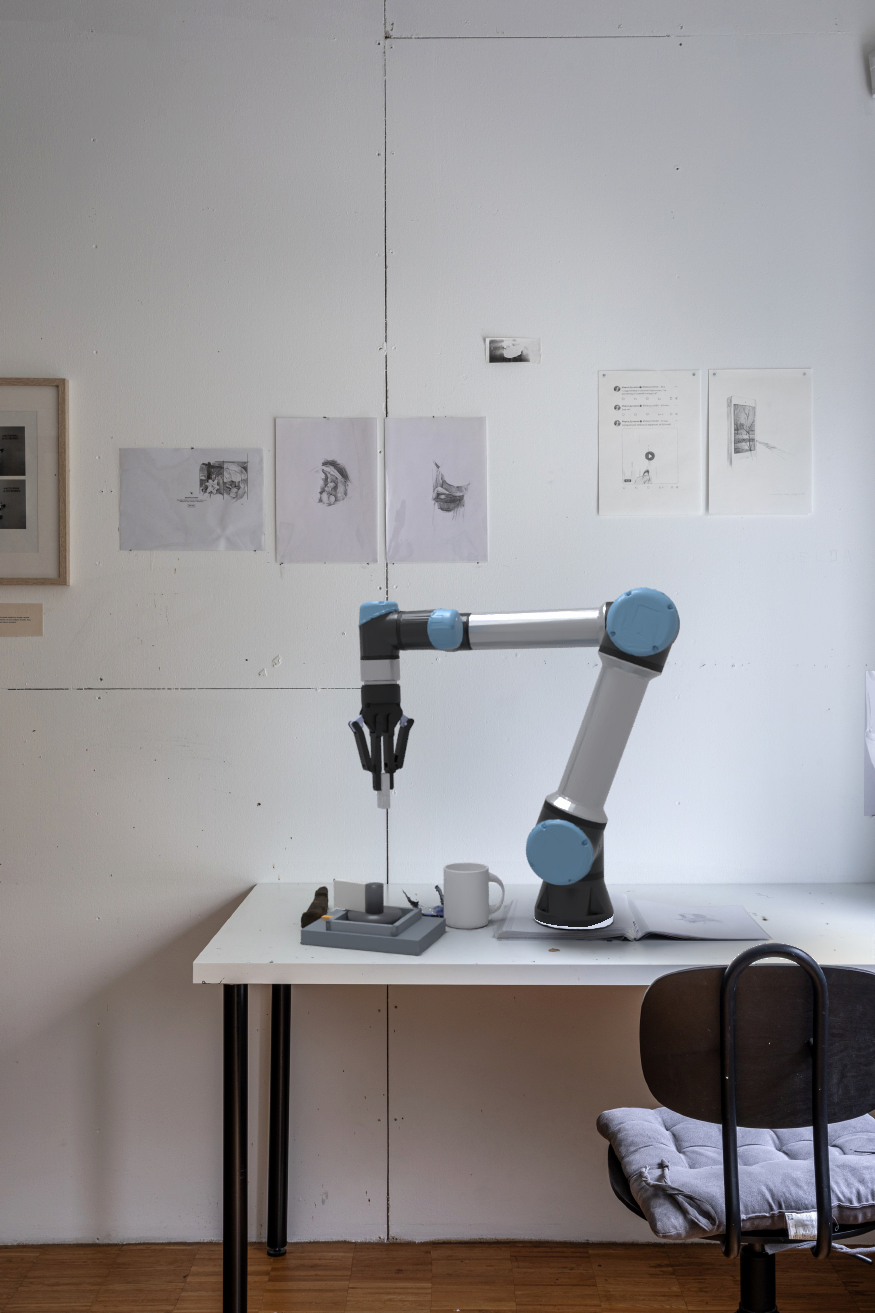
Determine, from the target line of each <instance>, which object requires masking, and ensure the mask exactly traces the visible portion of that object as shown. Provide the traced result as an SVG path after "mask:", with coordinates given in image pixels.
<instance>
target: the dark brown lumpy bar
mask: <svg viewBox="0 0 875 1313" xmlns="http://www.w3.org/2000/svg"><path fill="white" fill-rule="evenodd" d="M328 910H329V889H328V887H327V886H325V885H324V886H320V887H318V889H317V890H315V891H314V896H313V900H312V902H311V903H310V904H309V907H308V908H307V909H306V911H305V912H302V914H301V917H300V928H301V929H303V928H305V927H306V926H308V925H310V924H312V923H313V922H315V921H317V920H319V919H320V918H321V917H322V916H324V915H326V914H327V913H328V912H329V911H328ZM327 911H328V912H327ZM326 912H327V913H326Z"/></svg>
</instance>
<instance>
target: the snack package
mask: <svg viewBox="0 0 875 1313" xmlns="http://www.w3.org/2000/svg"><path fill="white" fill-rule="evenodd" d="M434 889H435V891H436V892H437V893H438V895H439V899H440V901H439V902H440V904H439V905H435V906H426V905H425V906H424V905H422V904H420V901H419V900H418V899H415V900H416V901H415V900H412V899H411V896H408V894H407V892H406V891H404V889H402V888H401V890H402V892H403V894H404V895H405V898H406V900H407V902H408V903H409V904H410V906H411V907H412V908H421V907H425V908H424V909H428V908H429V909H431V913H428V912H424V911H423V912H424V913H423V912H422V916H425V917H438V918H444V892H443V891H442V889H441V887H440V886H439V885H438V884H437V885H434ZM417 895H418V894H417V893H415V896H417ZM429 909H428V910H429ZM432 912H433V913H432Z"/></svg>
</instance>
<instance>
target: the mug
mask: <svg viewBox="0 0 875 1313" xmlns="http://www.w3.org/2000/svg"><path fill="white" fill-rule="evenodd" d="M490 883H495V884H497V885H498V886H499V887H500V888H501V892H502V893H501V894H502V896H501V899H500V901H499V902H498V903H497V904H494V905H493V904H492V905H491V904H490V886H489V885H490ZM443 895H444V918H446V926H448V927H450V928H453V929H460V930H474V929H481V928H484V927H485V926H486V925H488V923H489V921H490V920H489V919H490V915H493V914H496V913H497V912H498V911H500V910H501V907H502V905H503V904H504V900H505V885H504V883H503V880H502V879H500V878H499V876H498V875H496V874H494V873H492V872H490V870H489V865H486V864H485V863H478V862H453V863H448V864H446V865H444V866H443Z"/></svg>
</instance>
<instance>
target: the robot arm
mask: <svg viewBox="0 0 875 1313" xmlns="http://www.w3.org/2000/svg"><path fill="white" fill-rule="evenodd" d="M358 617H359V618H358V619H359V620H358V632H359V634H358V636H359V653H360V654H359V655H360V656H359V659H360V660H359V664H360V667H359V668H360V669H359V670H360V681H361V682H363V684H362V685H361V686H360V699H361V700H360V705H361V708H360V710H359V713H358V714H359V716H357V717H356V718H354V719H353V720H349V721H348V723H347V725H348V727H349V728H350V730H351V732H352V733H353V736H354V741H355V744H356V747H357V748H356V750H357V751H358V752H357V753H358V756H359V761H360V763H361V768H362V770H363V771H366V772H369V773H371V775H372V790H373V791H375V792H376V798H377V799H376V804H377V806H376V807H377V808H378V809H381V810H385V809H386V810H387V809H391V791H392V790H394V788H395V777H394V776H395V775H394V774H396V772H397V771H398V770H401V769H403V767H404V764H405V758H406V752H407V747H408V743H409V742H408V741H409V736H410V732H411V729H412V728H413V726H414V724H415V719H414V718H412V717H408V716H407V715H405V714H404V711H403V708H402V706H401V702H402V698H401V696H402V693H401V692H402V690H401V685H400V684H399V683H398V681H401V665H400V664H401V660H400V658H401V657H400V652H401V651H402V652H403V651H404V652H406V651H443V652H447V653H455V652H462V651H464V652H465V651H468V652H469V651H489V650H491V651H492V650H493V651H494V650H498V651H499V650H530V649H538V650H539V649H564V648H565V649H569V648H570V649H571V648H572V649H573V648H598V649H597V655H598V656H599V658H600V661H601V667H600V670H599V674H598V675H597V676H598V677H597V678H596V682H595V684H594V688H593V691H592V693H591V695H590V699H589V701H588V703H587V707H586V709H585V712H584V715H583V718H582V721H581V724H580V727H579V729H578V732H577V735H576V738H575V741H574V743H573V746H572V748H571V751H570V754H569V757H568V760H567V762H566V765H565V769H564V771H563V774H562V777H561V779H560V782H559V785H558V787H557V790H556V791H554V792H551V793H550V794H547V795H545V798H544V802H543V804H542V807H541V809H540V812H539V815H538V817H537V821H536V823H535V826H534V827H533V828H532V829H531V831H530V832H529V834H528V837H527V839H526V842H525V843H526V844H525V855H526V860H527V863H528V865H529V867H530V868H531V870H532V871H533V873H534V874H535V875H536V876H537V877H538V878H540V879H541V880H542V883H541V885H540V888H539V892H538V895H537V897H536V902H535V904H534V911H533V912H534V913H533V914H534V917H535V919H536V920H538V921H540V922H543V923H546V924H551V925H557V926H568V927H588V926H592V925H595V924H598V923H601V922H603V921H605V920H607V919H609V918H611V917H612V916H613V914H614V915H615V913H614V912H615V911H614V906H613V904H612V901H611V897H610V895H609V892H608V889H607V885H606V882H605V834H604V832H605V829H606V827H607V824H608V822H609V819H608V816H607V813H606V812H605V804H606V801H607V798H608V796H609V793H610V790H611V788H612V785H613V782H614V779H615V777H616V775H617V771H618V769H619V765H620V763H621V760H622V758H623V755H624V753H625V750H626V748H627V747H626V746H627V744H628V741H629V739H630V735H631V732H632V730H633V727H634V724H635V722H636V719H637V716H638V713H639V711H640V709H641V705H642V702H643V699H644V698H645V697H644V696H645V694H646V692H647V688H648V686H649V683H650V681H652V680H653V679H655V678H658V677H659V676H661V675H662V674H663V670H664V668H665V665H666V662H667V660H668V658H669V654H670V652H671V649H672V647H673V644H674V643H675V642H676V640H677V638H678V636H679V633H680V627H681V620H680V614H679V612H678V609H677V606H676V604H675V603H674V601H673V600H672V599H671V598H670V596H668V595H667V594H665V593H664V592H662V591H660V590H657V589H655V588H650V587H646V586H645V587H636V588H635V587H634V588H631V589H629V590H627V591H624V592H623V593H621V594H620V595H618V597H617V598H616V599H614V601H604V602H603V603H602V604H601V605H600V606H599V607H581V608H580V607H577V608H576V607H574V608H554V609H551V608H550V609H530V610H529V609H528V610H509V611H508V610H506V611H505V610H503V611H481V612H480V611H478V612H459V610H457V609H454V608H434V609H421V610H400V608H399V604H398V602H396V601H393V600H372V601H371V600H369V601H365V602H363V603H361V605H360V606H359V613H358ZM398 724H399V728H398V733H397V737H396V743H395V739H394V737H395V734H396V732H395V729H396V727H397V725H398ZM364 725H365V726H366V728H367V729H368V733H369V734H368V735H369V740H370V742H369V743H370V750H369V746H368V742H367V739H366V734H365V731H364ZM382 753H383V754H382ZM382 756H383V757H382ZM382 758H383V759H382ZM382 763H383V764H382ZM383 771H384V772H383ZM535 919H534V920H535Z"/></svg>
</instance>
